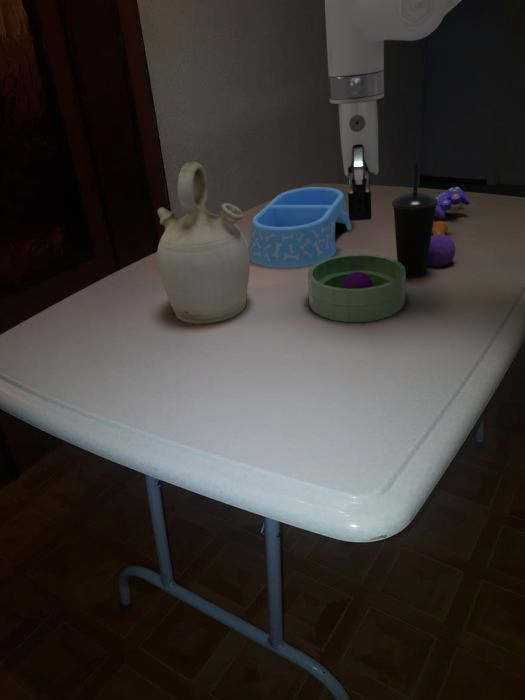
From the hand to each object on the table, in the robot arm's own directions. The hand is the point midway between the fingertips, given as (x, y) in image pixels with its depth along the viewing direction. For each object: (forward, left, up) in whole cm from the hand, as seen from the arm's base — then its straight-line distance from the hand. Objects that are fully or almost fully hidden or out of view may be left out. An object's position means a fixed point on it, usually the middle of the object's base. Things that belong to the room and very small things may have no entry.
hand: (360, 210), depth 85 cm
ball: (+1, 0, -13) cm, 13 cm away
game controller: (-19, -47, -16) cm, 53 cm away
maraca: (-15, -23, -16) cm, 32 cm away
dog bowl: (+13, -33, -16) cm, 39 cm away
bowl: (+1, 0, -16) cm, 16 cm away
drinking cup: (-9, -12, -16) cm, 22 cm away
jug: (+26, +1, -16) cm, 30 cm away
